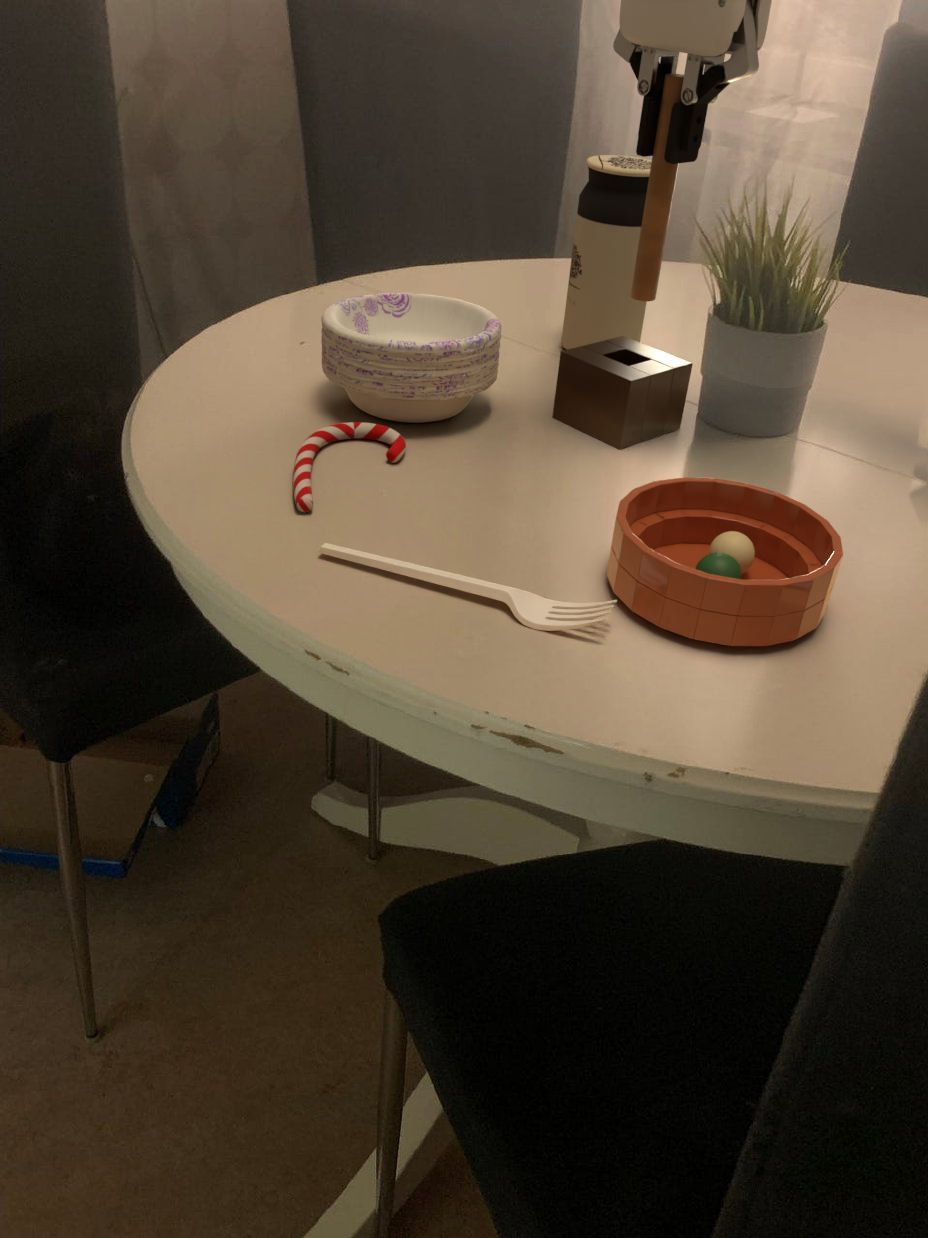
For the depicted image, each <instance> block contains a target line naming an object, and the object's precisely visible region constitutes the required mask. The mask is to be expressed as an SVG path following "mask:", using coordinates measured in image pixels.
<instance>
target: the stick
mask: <svg viewBox="0 0 928 1238" xmlns="http://www.w3.org/2000/svg"><path fill="white" fill-rule="evenodd" d="M683 79H684V73H683V74H682V73H676V74H666V75H665V80H664V87H663V93H662V99H661V106H660V112H659V118H658V124H657V131H656V137H655V143H654V150H653V156H651V160H652V162H651V169H650V175H649V181H648V188H647V194H646V200H645V207H644V213H643V219H642V226H641V232H640V238H639V244H638V251H637V257H636V263H635V270H634V276H633V282H632V289H631V298H633V299H635V300H639V301H647V302H653V301H655V300H656V299H657V293H658V286H659V281H660V280H659V279H660V275H661V269H662V262H663V257H664V251H665V246H666V239H667V234H668V229H669V228H668V227H669V221H670V217H671V210H672V205H673V199H674V193H675V187H676V182H677V175H678V169H679V164H680V163H678V164H670V163H667V162H666V161H665V159H664V155H665V149H666V142H667V136H668V130H669V124H670V118H671V111H672V107H673V105H674V103H681V91H682V85H683Z"/></svg>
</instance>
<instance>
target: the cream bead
mask: <svg viewBox="0 0 928 1238" xmlns="http://www.w3.org/2000/svg"><path fill="white" fill-rule="evenodd" d="M715 552H721V553H726V554H728V555H730V556H732V557H733V558H734V559H735V560H736V561H737V562H738V564H739V566H740V568H741V572H742V574H743V573H744V572H746V571H747V570H748V569H749V568H750V567H751V565H752V563H753V561H754V557H755V549H754V546H753V543H752V542H751V540H750V539H749V538H748V537H747V536H746V535H744V534H742V533H740V532H735V531H729V532H724V533H722V534H720V535H718V536H717V537H716V538H715V539H714V540H713V542H712V543H711V545H710V548H709V554H711V553H715Z"/></svg>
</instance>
